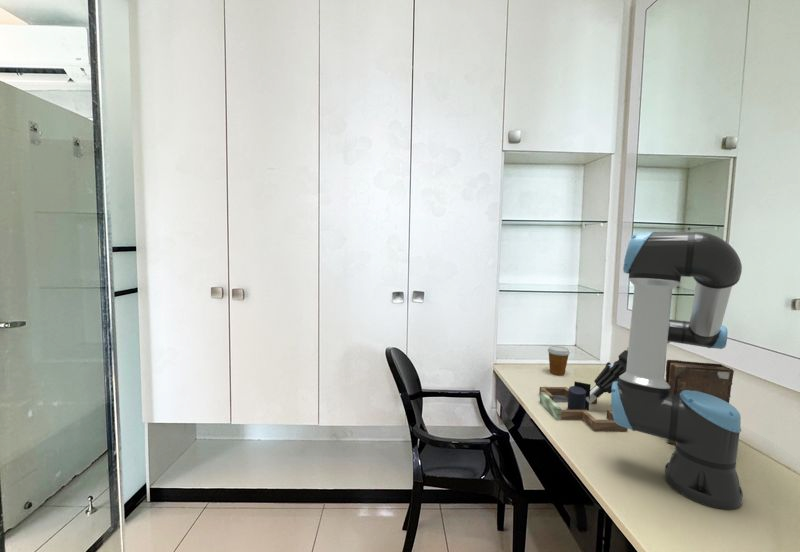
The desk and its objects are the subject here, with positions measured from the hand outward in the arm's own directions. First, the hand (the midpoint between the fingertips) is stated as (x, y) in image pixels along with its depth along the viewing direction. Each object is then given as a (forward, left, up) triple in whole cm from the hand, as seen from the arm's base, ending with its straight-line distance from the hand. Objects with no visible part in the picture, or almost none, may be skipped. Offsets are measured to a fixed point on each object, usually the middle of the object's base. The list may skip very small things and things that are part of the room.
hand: (586, 400), depth 134 cm
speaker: (-1, +4, -4) cm, 5 cm away
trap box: (-1, +3, -4) cm, 5 cm away
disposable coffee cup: (+37, -7, -4) cm, 38 cm away
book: (-22, -22, -4) cm, 31 cm away
